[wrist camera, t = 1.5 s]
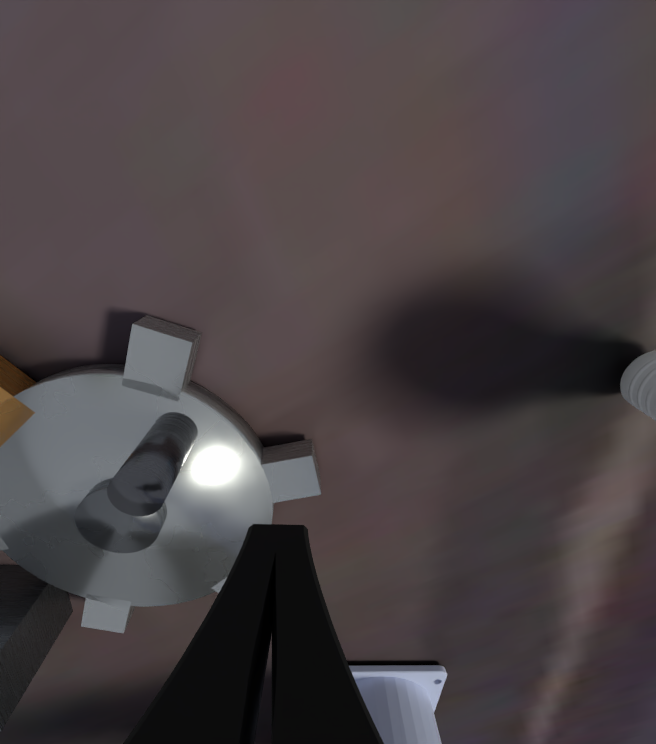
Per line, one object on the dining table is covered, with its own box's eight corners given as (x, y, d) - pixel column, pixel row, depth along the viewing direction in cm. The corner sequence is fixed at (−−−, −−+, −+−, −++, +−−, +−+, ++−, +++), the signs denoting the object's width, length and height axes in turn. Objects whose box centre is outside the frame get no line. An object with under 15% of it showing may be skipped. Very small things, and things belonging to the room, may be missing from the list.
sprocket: (306, 610, 20) (306, 719, 16) (-6, 608, 19) (-101, 726, 14) (334, 328, 14) (346, 378, 9) (-127, 295, 12) (-357, 335, 8)
